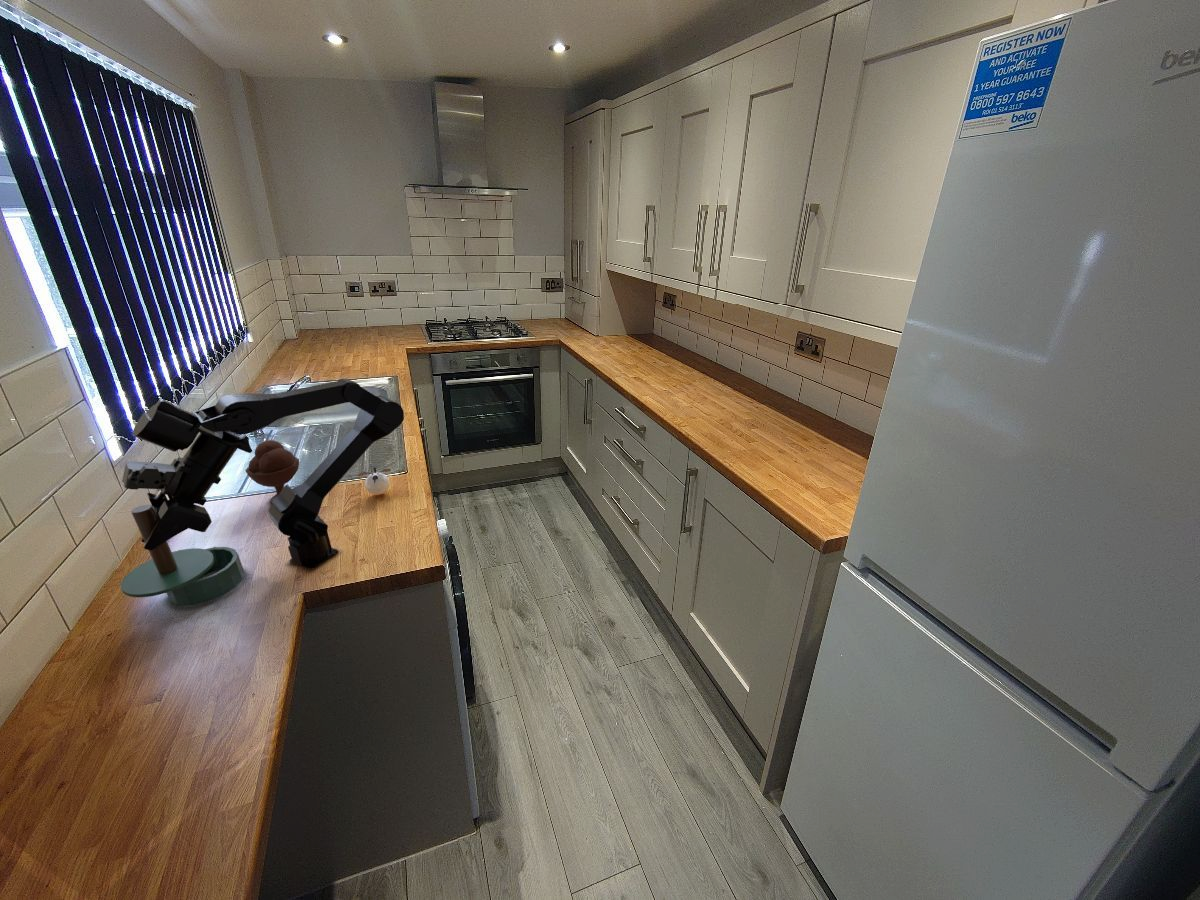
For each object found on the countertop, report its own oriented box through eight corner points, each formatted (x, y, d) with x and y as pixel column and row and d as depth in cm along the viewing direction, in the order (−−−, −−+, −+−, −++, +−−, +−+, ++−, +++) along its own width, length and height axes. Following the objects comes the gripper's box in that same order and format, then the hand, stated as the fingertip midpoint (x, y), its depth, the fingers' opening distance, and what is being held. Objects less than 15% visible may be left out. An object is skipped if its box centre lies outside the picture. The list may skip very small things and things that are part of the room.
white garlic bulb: (362, 506, 124) (356, 480, 121) (364, 491, 131) (358, 466, 128) (395, 500, 126) (389, 475, 124) (395, 486, 133) (390, 462, 130)
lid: (216, 545, 97) (192, 482, 91) (213, 582, 87) (186, 513, 82) (130, 569, 91) (98, 503, 85) (116, 611, 81) (79, 539, 76)
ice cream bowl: (246, 506, 125) (227, 449, 119) (287, 486, 135) (271, 432, 129) (278, 514, 122) (260, 455, 116) (317, 492, 131) (303, 437, 125)
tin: (219, 562, 105) (211, 541, 103) (258, 575, 101) (251, 554, 99) (155, 598, 95) (145, 576, 93) (196, 614, 91) (187, 591, 89)
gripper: (140, 427, 88) (80, 508, 85) (157, 459, 76) (88, 555, 73) (211, 455, 96) (158, 530, 94) (236, 487, 84) (177, 575, 82)
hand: (146, 545), depth 85 cm, fingers closed on lid, 2 cm apart
